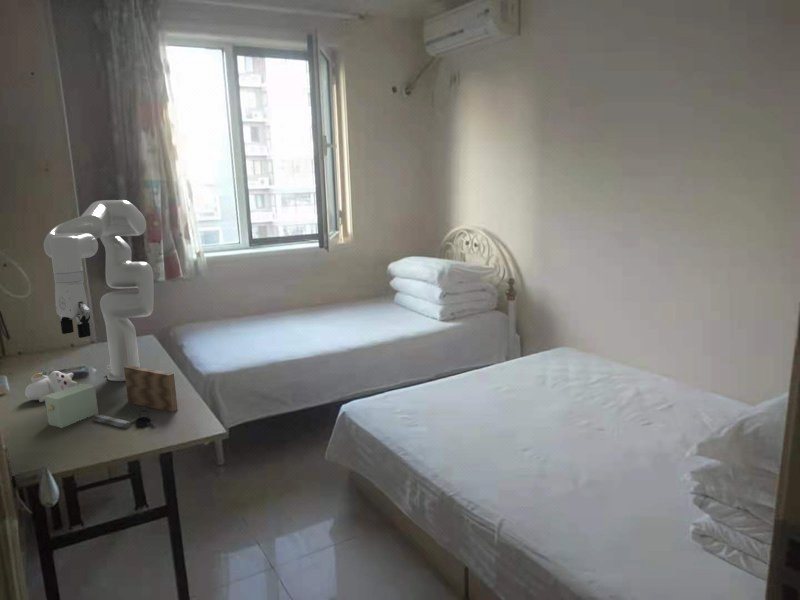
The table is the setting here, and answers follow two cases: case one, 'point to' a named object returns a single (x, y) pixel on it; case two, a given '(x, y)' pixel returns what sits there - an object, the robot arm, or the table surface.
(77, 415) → the pale green block
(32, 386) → the cat figurine
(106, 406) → the table surface
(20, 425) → the table surface
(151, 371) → the brown piece
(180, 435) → the table surface
